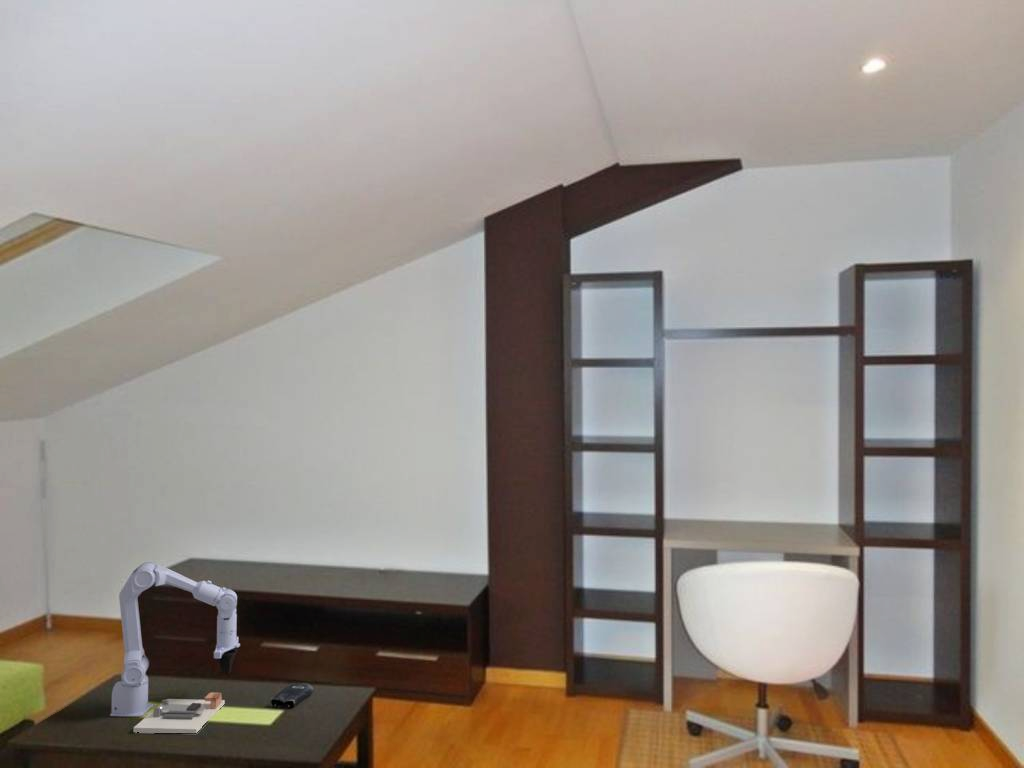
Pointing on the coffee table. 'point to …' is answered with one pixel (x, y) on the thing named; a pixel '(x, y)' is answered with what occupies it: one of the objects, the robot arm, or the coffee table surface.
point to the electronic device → (292, 694)
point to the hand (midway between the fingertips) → (226, 673)
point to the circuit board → (176, 718)
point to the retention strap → (183, 708)
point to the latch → (214, 699)
